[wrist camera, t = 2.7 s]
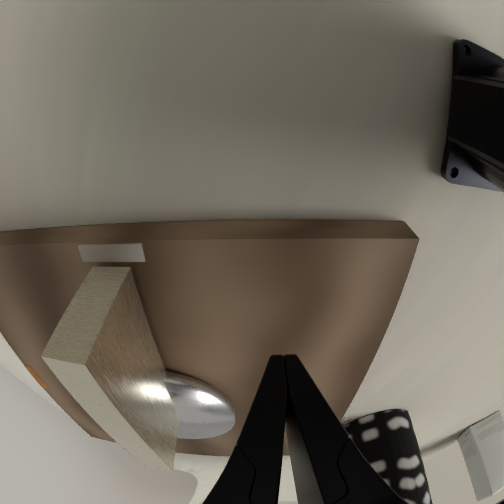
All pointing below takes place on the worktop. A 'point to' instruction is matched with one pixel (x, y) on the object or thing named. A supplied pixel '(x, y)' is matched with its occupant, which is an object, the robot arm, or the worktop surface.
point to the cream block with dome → (130, 373)
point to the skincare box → (485, 455)
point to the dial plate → (219, 300)
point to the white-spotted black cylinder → (392, 452)
